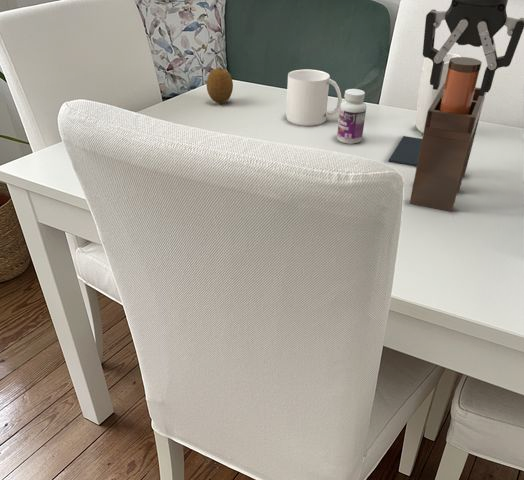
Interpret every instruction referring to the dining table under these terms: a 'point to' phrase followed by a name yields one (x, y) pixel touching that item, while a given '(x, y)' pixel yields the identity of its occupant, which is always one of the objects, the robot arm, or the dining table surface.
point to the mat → (407, 151)
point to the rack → (444, 154)
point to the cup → (429, 89)
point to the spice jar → (460, 85)
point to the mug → (309, 97)
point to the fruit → (219, 85)
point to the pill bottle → (351, 117)
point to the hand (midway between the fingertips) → (458, 91)
